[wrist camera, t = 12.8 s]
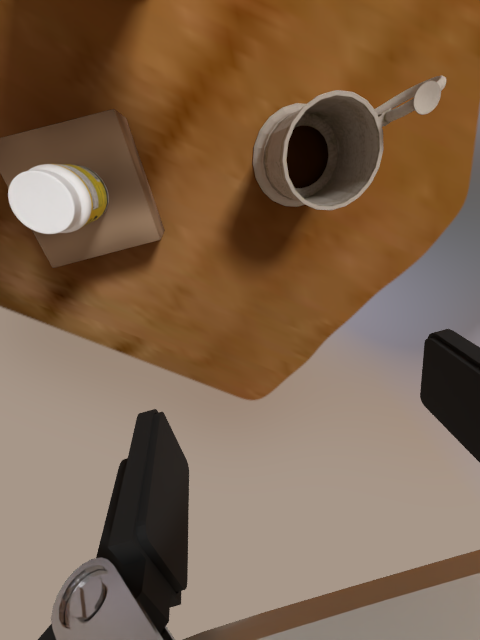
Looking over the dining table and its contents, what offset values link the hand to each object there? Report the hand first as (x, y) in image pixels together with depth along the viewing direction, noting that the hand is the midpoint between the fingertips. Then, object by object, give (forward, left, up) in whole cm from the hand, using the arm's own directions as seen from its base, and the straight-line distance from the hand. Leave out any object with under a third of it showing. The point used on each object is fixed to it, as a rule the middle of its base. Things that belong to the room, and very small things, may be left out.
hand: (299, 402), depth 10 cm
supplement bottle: (-8, -12, -24) cm, 28 cm away
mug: (-7, +12, -29) cm, 32 cm away
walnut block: (-8, -12, -28) cm, 32 cm away
